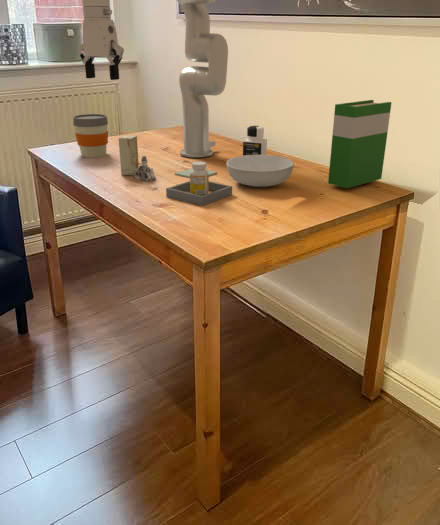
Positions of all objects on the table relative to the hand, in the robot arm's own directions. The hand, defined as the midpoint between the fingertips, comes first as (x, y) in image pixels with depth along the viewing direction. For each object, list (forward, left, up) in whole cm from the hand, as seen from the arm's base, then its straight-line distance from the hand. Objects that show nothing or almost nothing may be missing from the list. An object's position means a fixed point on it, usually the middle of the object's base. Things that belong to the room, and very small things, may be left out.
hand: (102, 78), depth 151 cm
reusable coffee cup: (-19, -32, -31) cm, 48 cm away
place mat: (-24, +15, -31) cm, 42 cm away
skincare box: (-11, -3, -31) cm, 33 cm away
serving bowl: (-28, +38, -31) cm, 56 cm away
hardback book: (-49, +60, -31) cm, 84 cm away
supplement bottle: (-6, +32, -31) cm, 45 cm away
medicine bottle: (-54, +18, -31) cm, 65 cm away
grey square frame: (-6, +32, -31) cm, 45 cm away
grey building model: (-11, +7, -32) cm, 34 cm away
